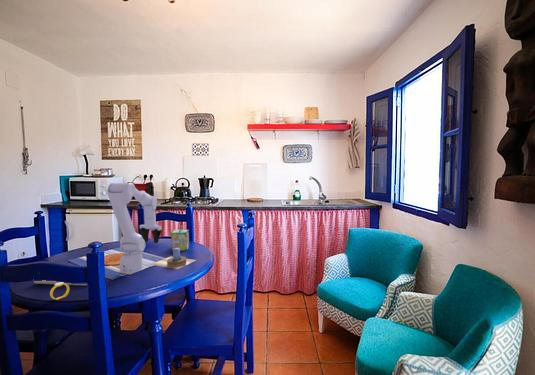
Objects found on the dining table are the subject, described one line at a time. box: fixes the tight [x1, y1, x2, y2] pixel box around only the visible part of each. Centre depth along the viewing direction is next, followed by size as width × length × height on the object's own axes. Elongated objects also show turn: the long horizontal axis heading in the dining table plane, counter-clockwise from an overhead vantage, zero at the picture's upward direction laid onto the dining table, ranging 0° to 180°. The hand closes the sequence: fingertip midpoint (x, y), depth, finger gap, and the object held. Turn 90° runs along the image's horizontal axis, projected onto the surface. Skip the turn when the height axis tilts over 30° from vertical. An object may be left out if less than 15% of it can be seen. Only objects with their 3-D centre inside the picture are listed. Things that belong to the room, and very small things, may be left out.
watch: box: [49, 282, 70, 301], centre depth 104 cm, size 6×3×6 cm, turn 152°
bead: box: [167, 255, 187, 267], centre depth 138 cm, size 9×9×2 cm
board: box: [150, 255, 197, 270], centre depth 141 cm, size 14×18×1 cm
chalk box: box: [170, 225, 190, 252], centre depth 166 cm, size 9×9×15 cm
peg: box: [172, 248, 181, 261], centre depth 138 cm, size 3×3×8 cm
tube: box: [33, 280, 88, 287], centre depth 117 cm, size 5×5×25 cm
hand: (151, 242), depth 148 cm, fingers open, 7 cm apart
